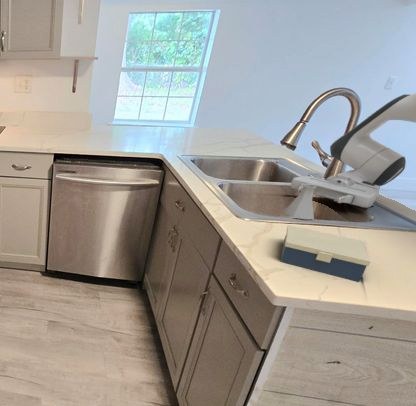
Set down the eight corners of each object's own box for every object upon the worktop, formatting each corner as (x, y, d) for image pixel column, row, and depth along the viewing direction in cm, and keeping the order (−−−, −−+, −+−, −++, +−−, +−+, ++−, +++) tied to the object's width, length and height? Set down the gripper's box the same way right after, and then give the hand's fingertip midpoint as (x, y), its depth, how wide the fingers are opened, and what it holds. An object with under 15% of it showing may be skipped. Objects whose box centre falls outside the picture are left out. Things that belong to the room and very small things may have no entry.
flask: (289, 218, 111) (300, 188, 107) (280, 209, 117) (289, 180, 113) (318, 221, 109) (330, 190, 105) (307, 211, 115) (318, 182, 111)
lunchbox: (355, 260, 90) (364, 240, 88) (360, 283, 81) (370, 262, 79) (281, 242, 98) (288, 224, 96) (279, 262, 90) (286, 242, 88)
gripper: (306, 169, 127) (283, 176, 121) (387, 187, 109) (364, 196, 104) (301, 186, 129) (278, 193, 124) (379, 206, 112) (356, 216, 107)
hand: (318, 195), depth 114 cm, fingers open, 8 cm apart
